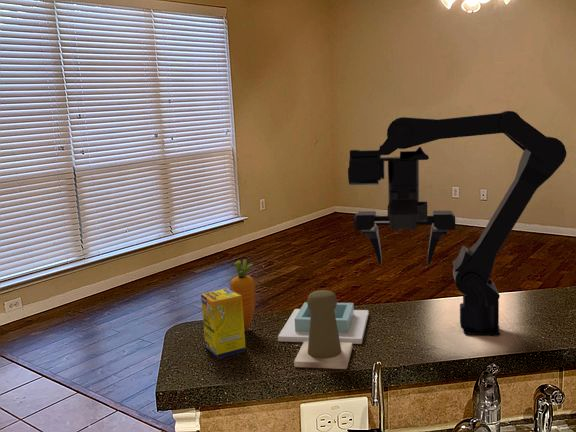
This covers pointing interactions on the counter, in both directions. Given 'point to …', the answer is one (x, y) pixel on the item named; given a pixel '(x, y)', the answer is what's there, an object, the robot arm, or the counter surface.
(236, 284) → the carrot
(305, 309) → the housing
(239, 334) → the supplement box
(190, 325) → the counter surface
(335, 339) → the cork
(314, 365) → the pad
